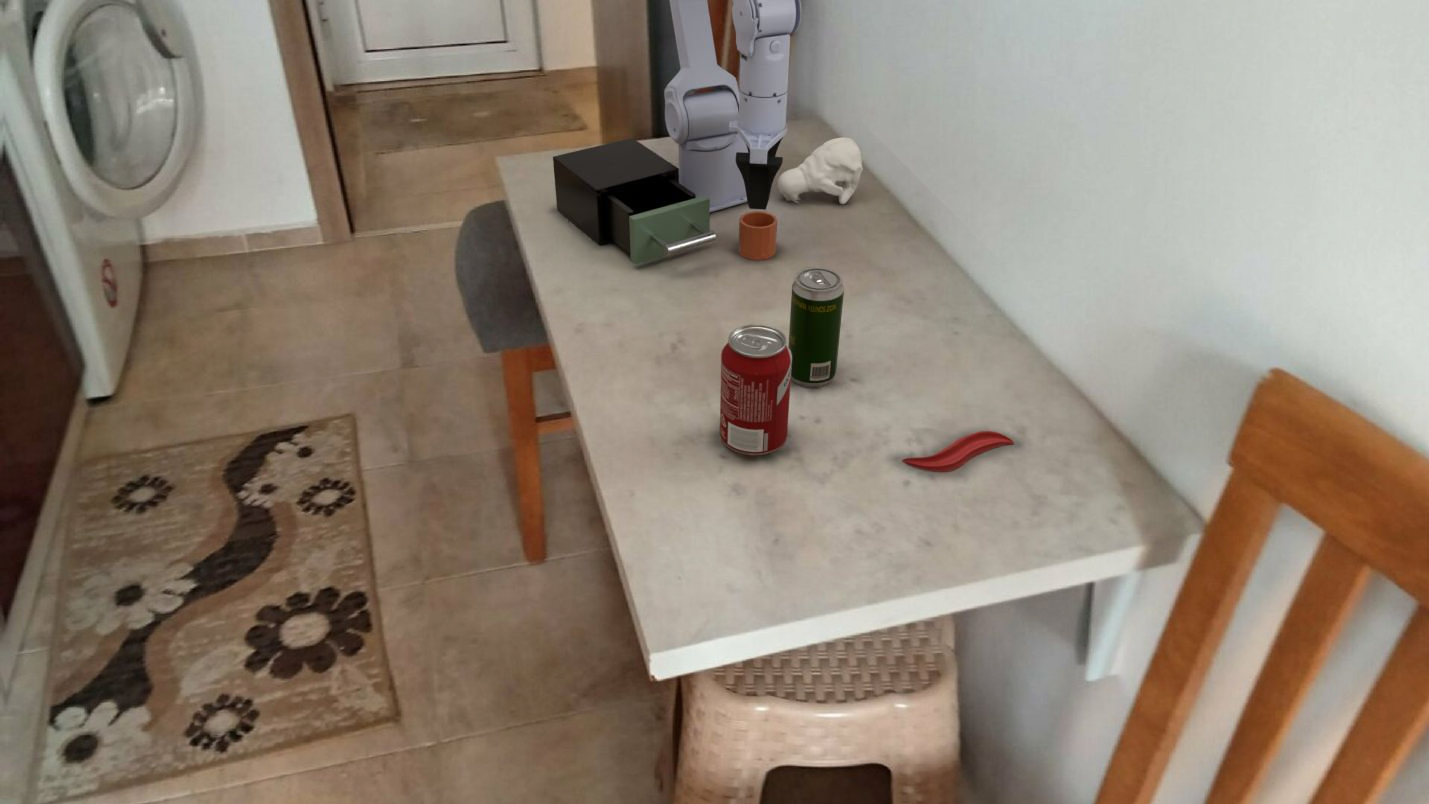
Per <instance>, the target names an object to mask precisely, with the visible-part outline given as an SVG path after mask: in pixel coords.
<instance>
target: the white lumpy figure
mask: <svg viewBox="0 0 1429 804" xmlns="http://www.w3.org/2000/svg"><path fill="white" fill-rule="evenodd" d="M863 171H864V168H863V158H862V152H861V148H860V147H859V145H858V144H857V143H856V142H855V141H854V139H852V138H850V137H836V138H833V139H829V140H827V141H825V142H824V143H823V144H821V145H820V146H818V147H817V148H815V149H814V150H813V152H812V153H811V154H810V155H809V156H807V157H806V158H805V159H804V160H803V162H802V163H800V164H799V165H798V167H794V168H791V169H788V170H785V171H784V172H782V173H781V174H780V175H779V177H778V180H777V190H778V191H779V193H780V194H781V195H782V196H783V197H784V198H785V200H786V201H787V202H791V201H792V202H794V203H797V204H799V199H800V196H799V195H800V194H801V195H802V194H803V193H807V192H814V193H823V192H824V193H825V194H828V195H831V196H835V197H836V196H837V197H838V203H839V204H840V205H845V204H846V203H847V202H848V201H849V199H850V198H851V197H852V196H853V195H854V194H855V191H856V189H857V187H858V184H859V182H860V178H861V175H862V172H863Z"/></svg>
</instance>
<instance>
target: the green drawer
mask: <svg viewBox="0 0 1429 804" xmlns="http://www.w3.org/2000/svg"><path fill="white" fill-rule="evenodd" d="M601 198H602V216H603V233H604V234H605V235H607V236H608V237H609V238H610V239H612V240H613V241H614V242H613V243H615V244H616V245H618V246H619V247H620V248H621V249H623V250H624V251H625V252H626V253H628V254H629V255H630V262H631V263H632V264H634V265H635V266H637V265H640V264H644V263H647V262H650V261H654V260H657V259H661V258H663V257H666V256H667V257H668V256H671V255H675V254H679V253H681V252H685V251H688V250H693V249H696V248H698V247H701V246H705V245H709V244H712V243H715V242H716V241H717V235H716V233H715V232H714V231H713V230H710V223H711V222H710V219H711V218H710V217H711V216H710V213H711V212H710V199H709V198H708V197H706V196H702V197H698V198H696V194H695V193H693V192H692V191H690V190H689V189H687V188H686V187H684V186H683V185H681V184H680V183H678V182H677V181H675V180H674V179H672V178H671V177H669V176H667V177H663V178H659V179H655V180H651V181H647V182H643V183H640V184H636V185H632V186H628V187H624V188H620V189H617V190H613V191H609V192H605V193H601Z"/></svg>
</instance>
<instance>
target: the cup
mask: <svg viewBox="0 0 1429 804" xmlns="http://www.w3.org/2000/svg"><path fill="white" fill-rule="evenodd" d="M777 233H778V219H777V217H776V216H775V215H774V214H772V213H770V212H768V211H767V212H766V211H760V210H759V211H757V210H754V211H748V212H745V213H743V214H741V215H740V217H739V219H738V253H739V255H741V256H742V257H743V258H745V259H747V260H752V261H763V260H768V259H770V258H772V257H774V256H775V254H776V250H777V236H778V235H777Z"/></svg>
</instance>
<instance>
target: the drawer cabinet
mask: <svg viewBox="0 0 1429 804" xmlns="http://www.w3.org/2000/svg"><path fill="white" fill-rule="evenodd" d="M552 163H553V176H554V187H555V189H554V190H555V200H556V211H557V212H558V213H560V214H561V215H562V216H563V217H564V218H566V219H567V220H568V221H569V222H570V223H572V224H573V225H574V226H575V227H576V228H577V229H579V230H580V231H581V232H583V233H584V234H585V235H586V236H587V237H589V239H591V240H592V241H593V242H595V243H596V244H597V245H598V246H604V245H607V244H611V243H615V242H614V241H613V240H612V239H610V238H609V237H608V236H607V235H605V234H604V233H603V216H602V198H601V193H605V192H609V191H613V190H617V189H620V188H624V187H628V186H632V185H636V184H640V183H643V182H647V181H651V180H655V179H659V178H663V177H667V176H669V177H671V178H672V179H674V180H675V181H677V182H678V183H679V167H677V166H675V164H672V163H671V162H670V161H668V160H667V159H665V158H663V157H662V156H660V155H659V154H658V153H656V152H654V151H653V150H652V149H650V148H648V147H647V146H645V145H644V144H642V143H641V142H639V141H638V140H636V139H635V138H634V137H629V138H626V139H621V140H617V141H614V142H613V141H612V142H608V143H605V144H600V145H597V146H592V147H588V148H583V149H579V150H575V151H571V152H567V153H563V154H558V155H554V156H552Z"/></svg>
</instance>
